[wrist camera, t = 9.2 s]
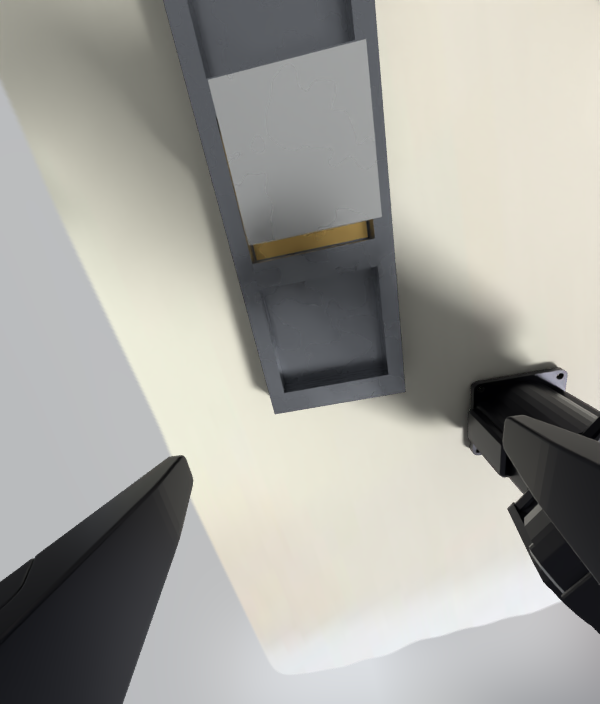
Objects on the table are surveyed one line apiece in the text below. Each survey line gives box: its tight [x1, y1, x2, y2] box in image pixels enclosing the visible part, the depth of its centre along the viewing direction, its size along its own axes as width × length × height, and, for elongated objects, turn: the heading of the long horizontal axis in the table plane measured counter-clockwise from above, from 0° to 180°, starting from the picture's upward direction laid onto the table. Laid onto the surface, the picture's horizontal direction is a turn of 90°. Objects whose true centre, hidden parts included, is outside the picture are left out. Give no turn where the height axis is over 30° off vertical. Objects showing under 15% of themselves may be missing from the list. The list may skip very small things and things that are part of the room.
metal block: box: [208, 39, 382, 245], centre depth 13 cm, size 5×5×7 cm
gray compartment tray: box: [163, 0, 405, 414], centre depth 16 cm, size 9×27×2 cm, turn 11°
